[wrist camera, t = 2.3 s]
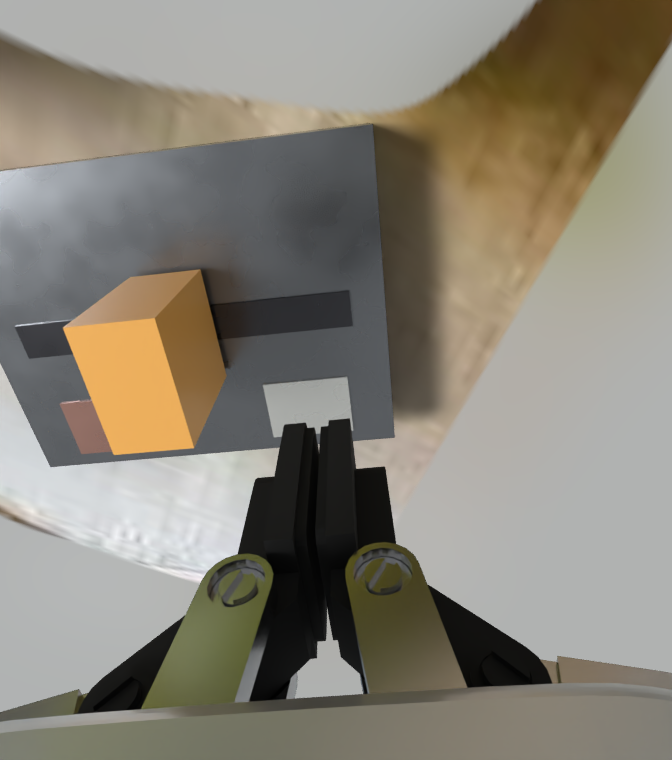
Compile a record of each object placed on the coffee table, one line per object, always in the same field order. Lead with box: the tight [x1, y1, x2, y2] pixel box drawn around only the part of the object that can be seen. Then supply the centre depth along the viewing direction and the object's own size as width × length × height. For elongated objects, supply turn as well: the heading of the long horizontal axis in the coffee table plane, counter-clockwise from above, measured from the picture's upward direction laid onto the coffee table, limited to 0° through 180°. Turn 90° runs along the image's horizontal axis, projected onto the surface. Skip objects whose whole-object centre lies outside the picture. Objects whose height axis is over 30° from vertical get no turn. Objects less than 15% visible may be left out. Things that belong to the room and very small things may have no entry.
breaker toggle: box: [63, 269, 227, 455], centre depth 19 cm, size 3×5×6 cm, turn 7°
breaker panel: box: [0, 123, 395, 467], centre depth 23 cm, size 18×14×3 cm
